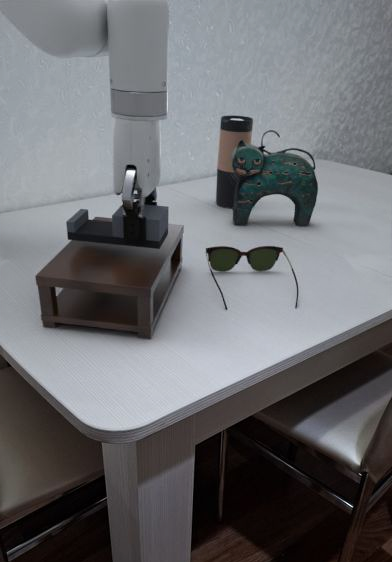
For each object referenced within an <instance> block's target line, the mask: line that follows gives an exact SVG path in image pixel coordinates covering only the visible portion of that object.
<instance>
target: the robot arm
mask: <svg viewBox="0 0 392 562" xmlns="http://www.w3.org/2000/svg"><path fill="white" fill-rule="evenodd" d="M0 13H1V14H2V15H3V16H4V17H5V18H6V20H7V21H9V22H10V24H11V25H13V27H14V28H15V29H16V30H18V32H20V33H21V35H22V36H24V38H26V39H27V40H28V41H29V42H30V44H32V45H34V46H35V47H36V48H37V49H39V50H40V51H42V52H44V53H46V55H49V56H52V57H56V58H60V59H68V58H98V57H108V68H109V69H108V71H109V72H108V73H109V92H110V93H109V94H110V116H111V117H112V118H114V119H115V120H114V127H113V144H112V145H113V146H112V147H113V148H112V155H113V156H112V170H113V171H112V186H113V188H112V189H113V193H114V194H115V195H116V196H121V202H122V204H123V205H122V204H121V205H122V207H123V231H124V242H125V243H131V244H141V245H144V244H145V243H146V217H143V216H144V205H156V206H158V201H157V198H158V193H157V186H158V185H159V183H160V180H161V175H162V174H161V173H162V128H161V121H162V120H163V121H164V120H167V119H168V112H169V111H168V110H169V109H168V108H169V107H168V105H169V97H168V96H169V46H170V45H169V44H170V43H169V42H170V39H169V35H170V34H169V33H170V7H169V2H168V0H0ZM135 191H136V193H135ZM138 204H139V207H138Z"/></svg>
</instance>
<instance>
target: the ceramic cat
mask: <svg viewBox="0 0 392 562" xmlns="http://www.w3.org/2000/svg"><path fill="white" fill-rule="evenodd" d="M268 133H274V134H275V135H277V137H278V138H280V137H281V135H280V133H278V132H277V131H276V130H273V129H269V130H266V131H265V132H263V134H262V136H261V142H260V145H259V146H256V145H254V144H253V143H251V144H247V143H244V142H243V140H241V141H240V142H239V143H238V146H237V147H236V148H235V150H234V152H233V155H232V167H233V170H234V172H235V173H236V174H237V175H238V176H239V177H238V179H237V184H236V189H235V193H234V205H233V208H232V217H231V218H232V219H231V220H232V223H233V224H234V226H247V225H248V224H249V223H248V222H249V218H250V215H251V213H252V210H253V209H254V207H255V205H256V204H257V203H258V202H259V201H260V200H261V199H262V198H265V197H267V196H273V195H281V196H284V197H286V198H288V199H289V200H290V201H291V202H292V203H293V205H294V214H293V220H292V221H293V223H294V224H295V226H298V227H307V226H309V225H310V222H311V219H312V216H313V212H314V210H315V207H316V204H317V198H318V193H319V184H318V180H317V176H316V172H315V171H316V162H315V158H314V156H313V155H312V154H311V153H310V152H309V151H307V150H305V149H303V148H296V147H289V148H286V149H283V150H279V151H275V152H271V151H268V150H266V145H264V144H263V140H264V138H265V137H264V136H265V135H266V134H268ZM289 151H297V152H300V153H304V154H306V155H308V156H309V158H310V159H311V161H312V164H313V165H312V164H311V163H310V162H309V161H308V160H307V159H306V158H304V157H302V156H301V155H299V154H295V153H293V152H289Z"/></svg>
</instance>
